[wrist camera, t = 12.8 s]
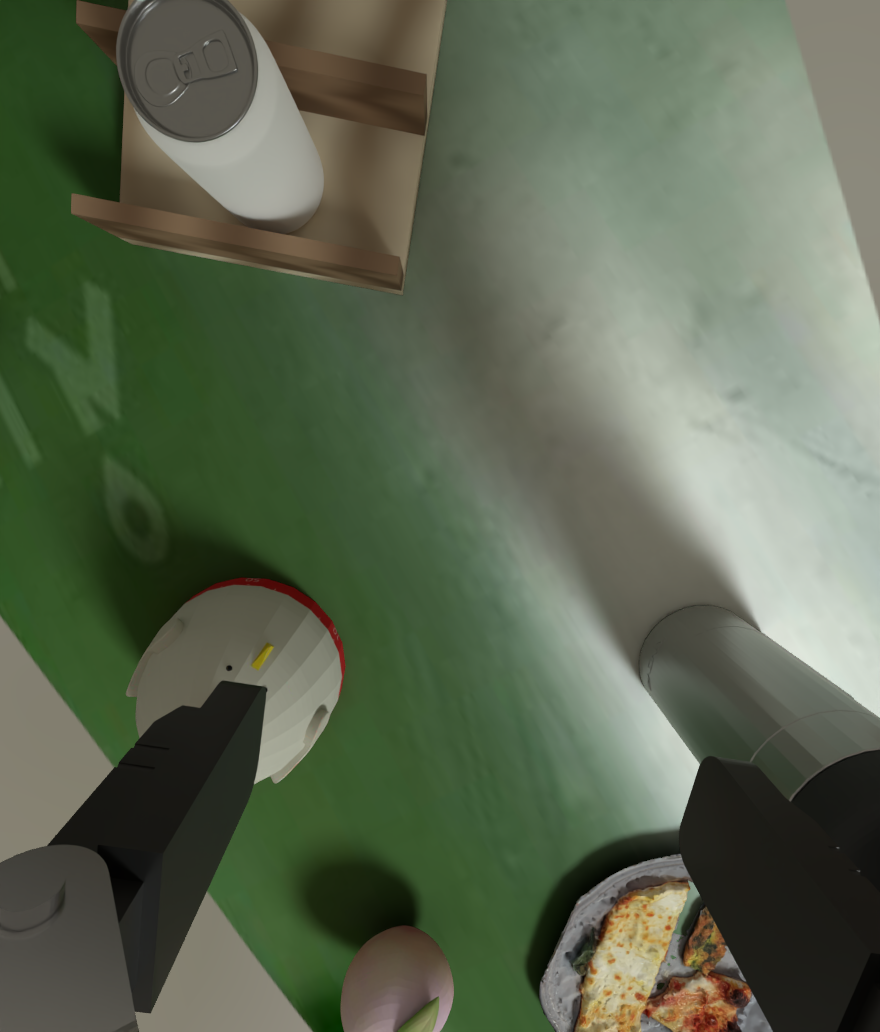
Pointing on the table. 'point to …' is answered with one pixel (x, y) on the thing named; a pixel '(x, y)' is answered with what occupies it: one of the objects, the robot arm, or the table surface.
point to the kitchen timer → (248, 663)
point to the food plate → (645, 962)
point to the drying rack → (333, 128)
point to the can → (220, 109)
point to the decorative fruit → (397, 984)
